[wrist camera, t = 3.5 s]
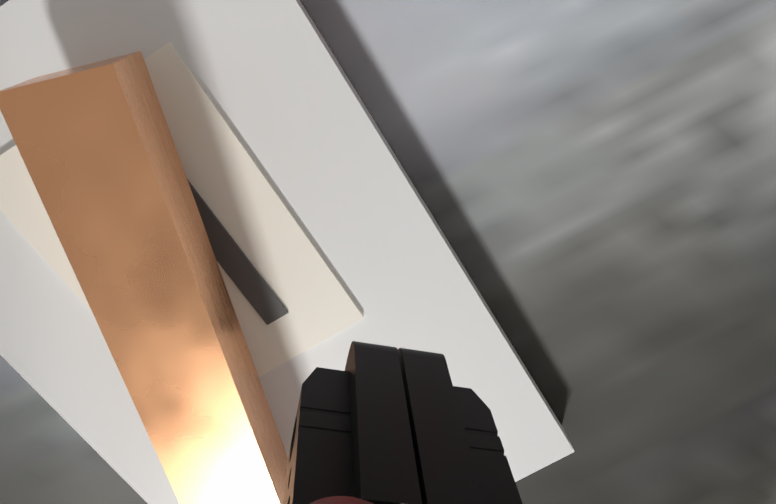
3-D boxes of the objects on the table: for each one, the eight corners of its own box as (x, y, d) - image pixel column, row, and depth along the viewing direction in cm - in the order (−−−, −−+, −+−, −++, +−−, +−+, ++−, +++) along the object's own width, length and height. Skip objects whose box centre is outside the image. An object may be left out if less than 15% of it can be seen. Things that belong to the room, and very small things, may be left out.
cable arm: (340, 574, 26) (341, 686, 22) (264, 592, 26) (251, 706, 22) (154, 45, 19) (103, 68, 14) (46, 72, 19) (-34, 102, 15)
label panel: (562, 426, 27) (577, 456, 25) (261, 582, 29) (256, 620, 27) (217, -134, 19) (206, -143, 17) (-167, 137, 21) (-211, 153, 19)
